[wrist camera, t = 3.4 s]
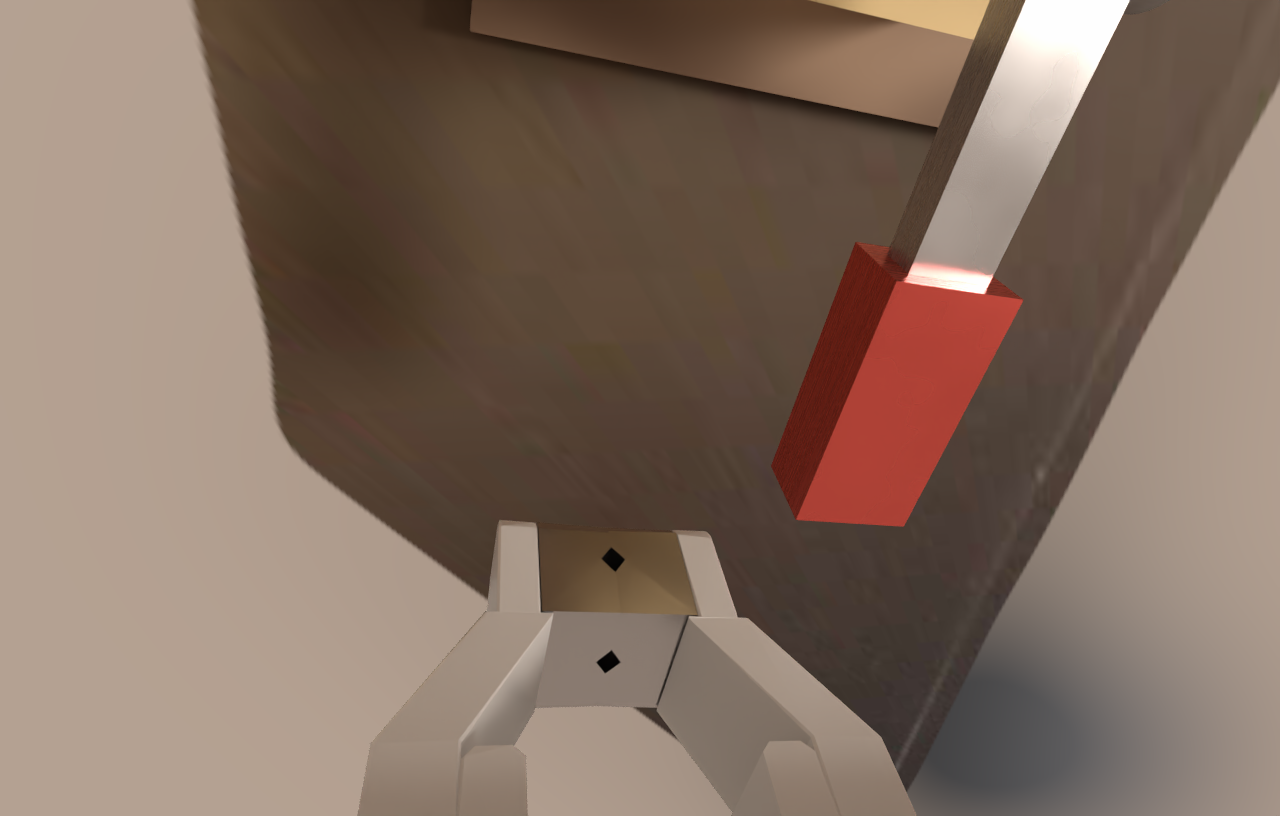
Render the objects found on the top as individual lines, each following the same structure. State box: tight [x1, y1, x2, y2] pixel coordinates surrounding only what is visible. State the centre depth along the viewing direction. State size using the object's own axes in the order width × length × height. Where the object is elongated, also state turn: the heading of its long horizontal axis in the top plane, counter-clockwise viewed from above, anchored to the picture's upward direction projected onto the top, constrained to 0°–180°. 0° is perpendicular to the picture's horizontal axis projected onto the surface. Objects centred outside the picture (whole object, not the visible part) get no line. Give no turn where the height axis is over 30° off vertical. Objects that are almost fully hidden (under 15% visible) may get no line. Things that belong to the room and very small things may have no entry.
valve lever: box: [771, 0, 1129, 526], centre depth 14 cm, size 16×3×2 cm, turn 168°
